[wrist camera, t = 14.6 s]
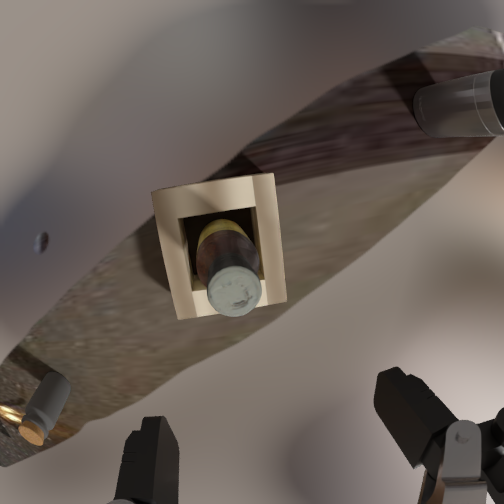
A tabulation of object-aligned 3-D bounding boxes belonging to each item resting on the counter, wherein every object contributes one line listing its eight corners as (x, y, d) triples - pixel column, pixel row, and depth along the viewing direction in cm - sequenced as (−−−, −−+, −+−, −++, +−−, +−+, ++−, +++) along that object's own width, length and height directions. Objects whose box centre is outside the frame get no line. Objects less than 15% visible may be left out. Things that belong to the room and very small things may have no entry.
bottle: (70, 398, 44) (46, 452, 29) (45, 386, 42) (17, 437, 28) (72, 379, 43) (44, 435, 28) (45, 366, 41) (13, 418, 27)
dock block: (263, 173, 38) (273, 173, 33) (276, 284, 43) (286, 301, 37) (159, 189, 37) (151, 192, 31) (181, 300, 42) (178, 319, 36)
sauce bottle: (240, 264, 41) (267, 341, 22) (195, 258, 40) (187, 333, 21) (248, 218, 40) (285, 262, 21) (202, 211, 39) (197, 249, 20)
